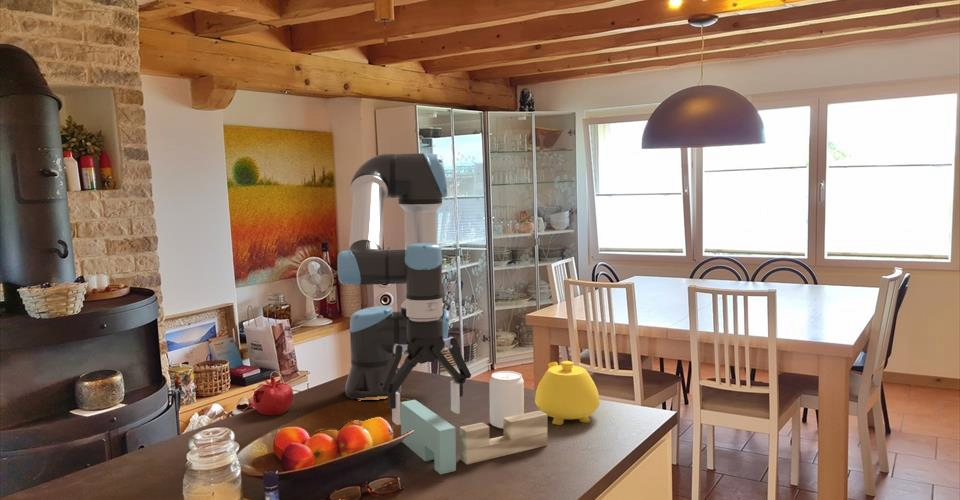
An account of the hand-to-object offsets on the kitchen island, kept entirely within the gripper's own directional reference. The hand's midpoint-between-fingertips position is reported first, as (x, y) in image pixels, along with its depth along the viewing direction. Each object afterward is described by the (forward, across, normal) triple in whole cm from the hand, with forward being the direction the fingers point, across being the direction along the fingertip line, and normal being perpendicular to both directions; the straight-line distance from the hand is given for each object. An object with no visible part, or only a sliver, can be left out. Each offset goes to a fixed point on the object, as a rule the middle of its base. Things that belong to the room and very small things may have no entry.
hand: (426, 417), depth 146 cm
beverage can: (+8, +24, +8) cm, 27 cm away
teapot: (+8, +40, +6) cm, 42 cm away
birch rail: (+8, +15, -6) cm, 19 cm away
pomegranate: (+8, -22, +46) cm, 51 cm away
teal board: (+8, 0, 0) cm, 8 cm away
